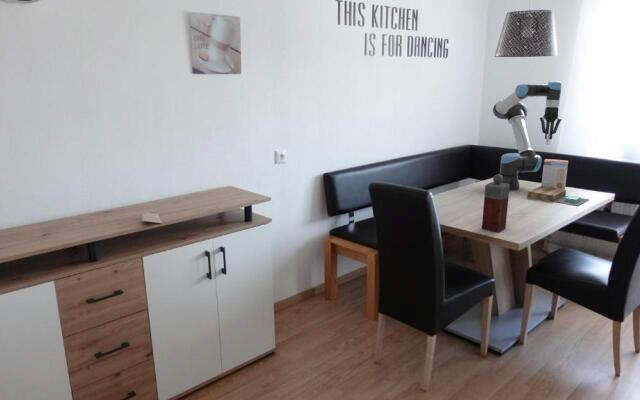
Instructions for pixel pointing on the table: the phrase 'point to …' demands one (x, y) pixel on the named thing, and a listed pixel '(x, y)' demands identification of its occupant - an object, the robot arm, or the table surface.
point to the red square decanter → (495, 205)
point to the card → (572, 199)
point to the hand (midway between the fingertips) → (547, 144)
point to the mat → (562, 200)
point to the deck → (546, 193)
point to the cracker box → (554, 173)
